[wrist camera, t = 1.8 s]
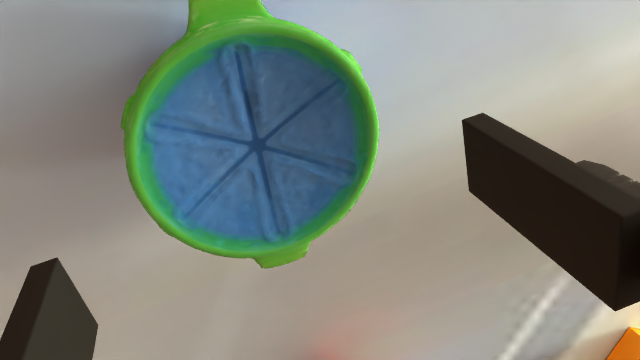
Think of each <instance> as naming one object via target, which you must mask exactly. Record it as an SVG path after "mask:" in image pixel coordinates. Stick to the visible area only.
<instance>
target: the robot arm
mask: <svg viewBox="0 0 640 360" xmlns="http://www.w3.org/2000/svg"><path fill="white" fill-rule="evenodd" d="M462 126H463V136H464V146H465V156H466V166H467V175H468V185H469V191H470V192H471V193H472V194H473V195H475V196H476V197H477V198H478V199H479V200H481V201H482V202H483V203H484V204H485V205H487V206H488V207H489V208H490V209H492V210H493V211H494V212H495V213H496V214H498V215H499V216H500V217H501V218H502V219H504V220H505V221H506V222H507V223H509V224H510V225H511V226H512V227H513V228H515V229H516V230H517V231H518V232H519V233H521V234H522V235H523V236H524V237H525V238H527V239H528V240H529V241H530V242H532V243H533V244H534V245H535V246H536V247H538V248H539V249H540V250H541V251H542V252H544V253H545V254H546V255H547V256H548V257H550V258H551V259H552V260H553V261H555V262H556V263H557V264H558V265H559V266H561V267H562V268H563V269H564V270H565V271H567V272H568V273H569V274H570V275H572V276H573V277H574V278H575V279H576V280H578V281H579V282H580V283H581V284H582V285H584V286H585V287H586V288H587V289H588V290H590V291H591V292H592V293H593V294H595V295H596V296H597V297H598V298H599V299H601V300H602V301H603V302H604V303H605V304H607V305H608V306H609V307H610V308H611V309H613V310H614V311H617V310H620V309H622V308H625V307H627V306H630V305H632V304H634V303H637V302H639V301H640V183H638V182H636V181H635V182H633V180H632V179H631V178H629V177H627V176H625V175H620V173H619V172H617V171H615V170H613V169H611V168H609V167H607V166H605V165H602V164H598V163H594V162H589V161H585V160H583V161H580V162H577V163H574V162H572V161H571V160H569V159H567V158H565V157H563V156H561V155H560V154H558V153H556V152H554V151H552V150H550V149H549V148H547V147H545V146H543V145H541V144H539V143H538V142H536V141H534V140H532V139H530V138H528V137H526V136H525V135H523V134H521V133H519V132H517V131H515V130H514V129H512V128H510V127H508V126H506V125H504V124H503V123H501V122H499V121H497V120H495V119H493V118H491V117H490V116H488V115H486V114H484V113H481V114H478V115H475V116H472V117H469V118H466V119H463V120H462ZM97 329H98V324H97V322H96V320H95V319H94V317H93V316H92V314H91V312H90V311H89V309H88V307H87V306H86V304H85V302H84V301H83V299H82V297H81V296H80V294H79V292H78V291H77V289H76V287H75V286H74V284H73V282H72V281H71V279H70V277H69V276H68V274H67V273H66V271H65V269H64V268H63V266H62V264H61V263H60V261H59V259H58V258H54V259H51V260H48V261H45V262H42V263H40V264H37V265H34V266H31V267H30V270H29V272H28V274H27V277H26V279H25V282H24V284H23V286H22V289H21V291H20V294H19V296H18V298H17V301H16V303H15V306H14V308H13V311H12V313H11V315H10V318H9V320H8V323H7V325H6V327H5V330H4V332H3V335H2V337H1V340H0V360H92V358H93V352H94V346H95V341H96V335H97Z"/></svg>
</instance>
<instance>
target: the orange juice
mask: <svg viewBox="0 0 640 360" xmlns="http://www.w3.org/2000/svg"><path fill="white" fill-rule="evenodd" d="M606 360H640V329H637V328H632V327H629V328H628V330H627V331H626V333H625V334H624V335H623V337H622V338H621V340H620V341H619V342H618V344H617V345H616V347H615V348H614V349H613V351H612V352H611V354H610V355H609V356H608V358H607V359H606Z"/></svg>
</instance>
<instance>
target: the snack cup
mask: <svg viewBox="0 0 640 360" xmlns="http://www.w3.org/2000/svg"><path fill="white" fill-rule="evenodd" d="M361 72H362V69H361V67H360V66H359V64H358V63H357V62H356V60H355V59H354V57H353V56H352V55H351V54H350V53H349V52H348V51H346V50H343V49H339V48H338V47H336V46H335V45H334V44H333V43H332V42H330V41H329V40H327V39H326V38H324V37H322V36H320V35H319V34H317V33H315V32H314V31H312V30H309V29H307V28H305V27H303V26H300V25H297V24H295V23H292V22H288V21H284V20H279V19H276V18H274V17H272V16H271V15H270V14H269V13H268V12H267V10H266V9H265V7H264V6H263V4H262V3H261V1H260V0H189V20H188V27H187V31H186V33H185V35H184V36H183V37H182V39H180V40H179V41H177V42H176V43H174V44H173V45H172V46H171V47H170V48H168V49H167V50H166V51H165V52H164V53H163V54H162V55H161V56H160V57H159V58H158V59H157V60H156V61H155V63H154V64H153V65H152V66H151V68H150V69H149V70H148V72H147V73H146V74H145V76H144V77H143V79H142V80H141V82H140V84H139V86H138V88H137V90H136V92H135V94H134V95H132V96H131V97H130V98H129V99H128V100H127V102H126V105H125V108H124V112H123V116H122V122H121V128H122V129H123V130H124V132H125V138H124V148H125V158H126V167H127V171H128V176H129V179H130V182H131V185H132V187H133V189H134V191H135V193H136V196H137V197H138V199H139V201H140V202H141V204H142V205H143V207H144V208H145V210H146V211H147V212H148V214H149V215H150V216H151V217H152V218H153V219H154V220H155V221H156V222H157V224H158V225H159V227H160V228H162V230H163V231H164V232H166V233H167V234H168V235H170V236H172V237H175V238H176V239H178V240H180V241H181V242H183V243H185V244H187V245H189V246H191V247H193V248H195V249H198V250H201V251H204V252H207V253H211V254H214V255H218V256H224V257H231V258H252V259H254V260H255V261H256V262H257V263H258V264H259V265H260V266H261V268H273V267H276V266H281V265H284V264H287V263H290V262H293V261H296V260H298V259H300V258H302V257H304V256H305V254H306V252H307V251H308V247H309V244H310V242H311V241H312V240H314V239H316V238H317V237H319V236H321V235H322V234H324V233H325V232H327V231H328V230H329V229H330V228H332V227H333V226H334V225H335V224H336V223H338V222H339V221H340V220H341V219H342V218H343V217H344V216H345V215H346V214H347V212H348V211H350V210H351V208H352V207H353V206H354V204H355V203H356V202H357V200H358V199H359V197H360V195H361V194H362V191H363V190H364V188H365V186H366V184H367V182H368V181H369V179H370V176H371V173H372V170H373V167H374V163H375V159H376V155H377V148H378V141H379V123H378V117H377V112H376V107H375V104H374V100H373V97H372V95H371V92H370V90H369V88H368V85H367V83H366V81H365V80H364V78H363V77H362V75H361Z"/></svg>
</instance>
